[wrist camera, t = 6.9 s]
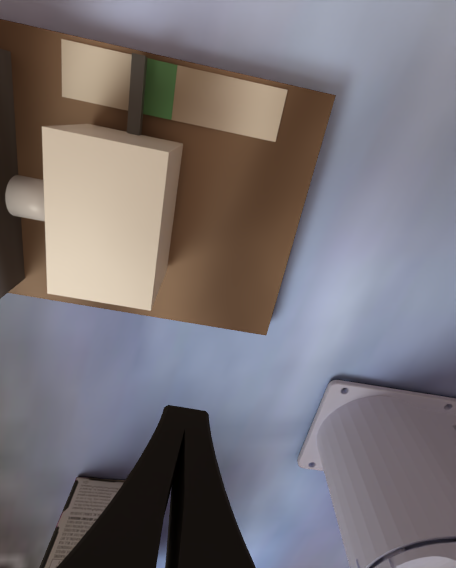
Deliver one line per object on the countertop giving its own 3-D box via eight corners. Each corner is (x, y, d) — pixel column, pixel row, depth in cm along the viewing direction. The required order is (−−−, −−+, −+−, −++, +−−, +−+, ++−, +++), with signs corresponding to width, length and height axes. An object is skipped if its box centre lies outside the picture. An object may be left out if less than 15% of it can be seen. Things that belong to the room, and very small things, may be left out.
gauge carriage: (193, 68, 14) (180, 51, 10) (166, 270, 17) (150, 310, 14) (35, 32, 13) (-37, 1, 10) (43, 248, 17) (-7, 284, 13)
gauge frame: (328, 96, 15) (384, 86, 10) (264, 323, 21) (277, 401, 15) (-52, 10, 14) (-235, -59, 9) (-19, 276, 19) (-120, 342, 14)
